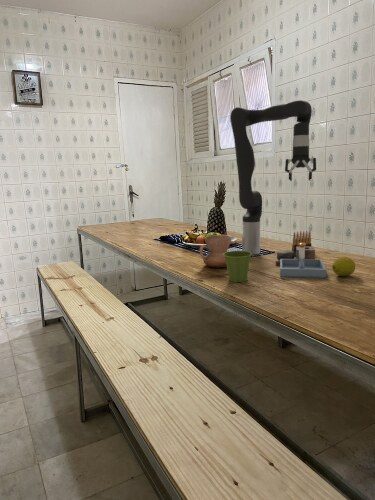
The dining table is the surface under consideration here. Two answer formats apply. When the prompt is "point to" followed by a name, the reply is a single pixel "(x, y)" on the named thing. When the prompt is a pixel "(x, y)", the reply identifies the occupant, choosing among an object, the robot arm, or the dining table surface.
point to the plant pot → (237, 265)
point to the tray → (311, 269)
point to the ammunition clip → (301, 240)
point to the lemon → (343, 266)
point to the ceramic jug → (216, 250)
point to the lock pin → (301, 255)
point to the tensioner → (290, 254)
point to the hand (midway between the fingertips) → (300, 180)
